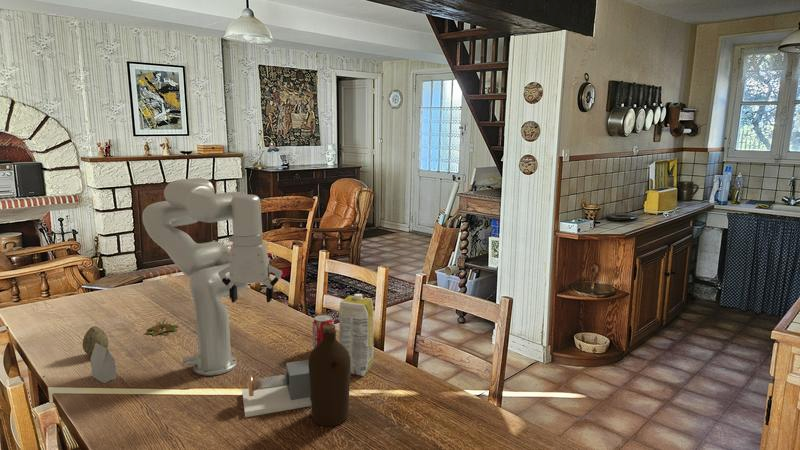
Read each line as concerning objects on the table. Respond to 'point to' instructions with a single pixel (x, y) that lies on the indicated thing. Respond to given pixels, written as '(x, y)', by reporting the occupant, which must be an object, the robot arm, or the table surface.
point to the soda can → (320, 327)
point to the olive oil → (329, 380)
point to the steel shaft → (267, 382)
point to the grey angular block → (102, 364)
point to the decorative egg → (94, 339)
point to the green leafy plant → (159, 326)
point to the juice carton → (357, 332)
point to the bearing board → (281, 393)
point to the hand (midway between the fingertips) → (252, 300)
